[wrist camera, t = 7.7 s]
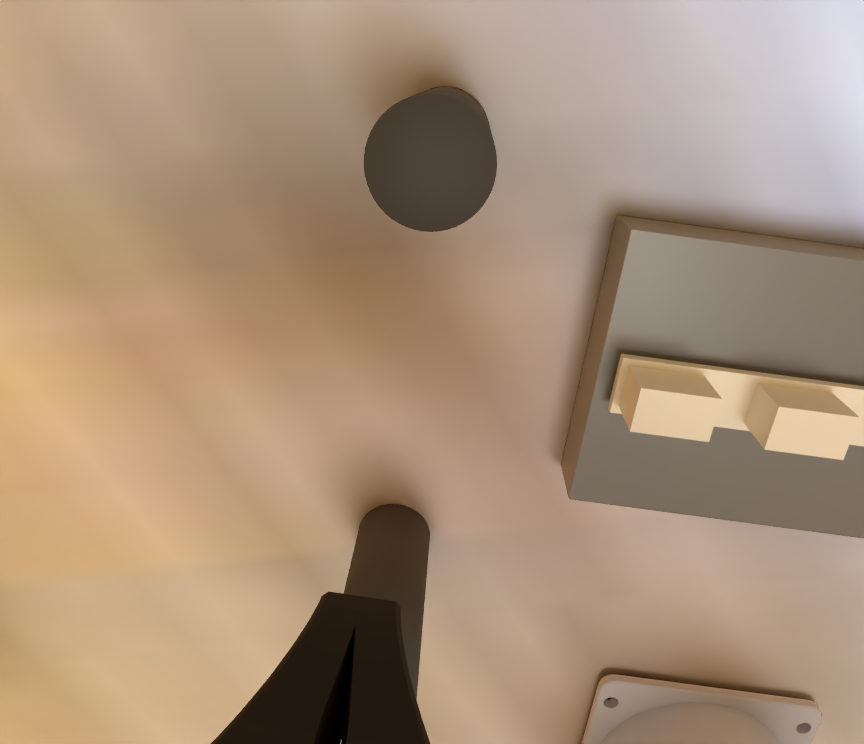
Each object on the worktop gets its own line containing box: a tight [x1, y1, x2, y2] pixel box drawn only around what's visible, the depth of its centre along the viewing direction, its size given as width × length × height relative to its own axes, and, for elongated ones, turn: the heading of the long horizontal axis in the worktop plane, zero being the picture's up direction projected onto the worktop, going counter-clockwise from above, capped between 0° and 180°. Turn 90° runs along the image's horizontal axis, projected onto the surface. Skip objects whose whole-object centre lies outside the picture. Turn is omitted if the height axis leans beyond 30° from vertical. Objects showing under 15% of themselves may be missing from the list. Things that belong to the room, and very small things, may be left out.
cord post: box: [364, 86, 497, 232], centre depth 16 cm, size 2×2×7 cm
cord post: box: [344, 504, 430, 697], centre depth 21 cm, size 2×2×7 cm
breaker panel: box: [561, 215, 864, 538], centre depth 21 cm, size 8×10×2 cm
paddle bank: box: [608, 354, 864, 460], centre depth 19 cm, size 2×9×2 cm, turn 83°
